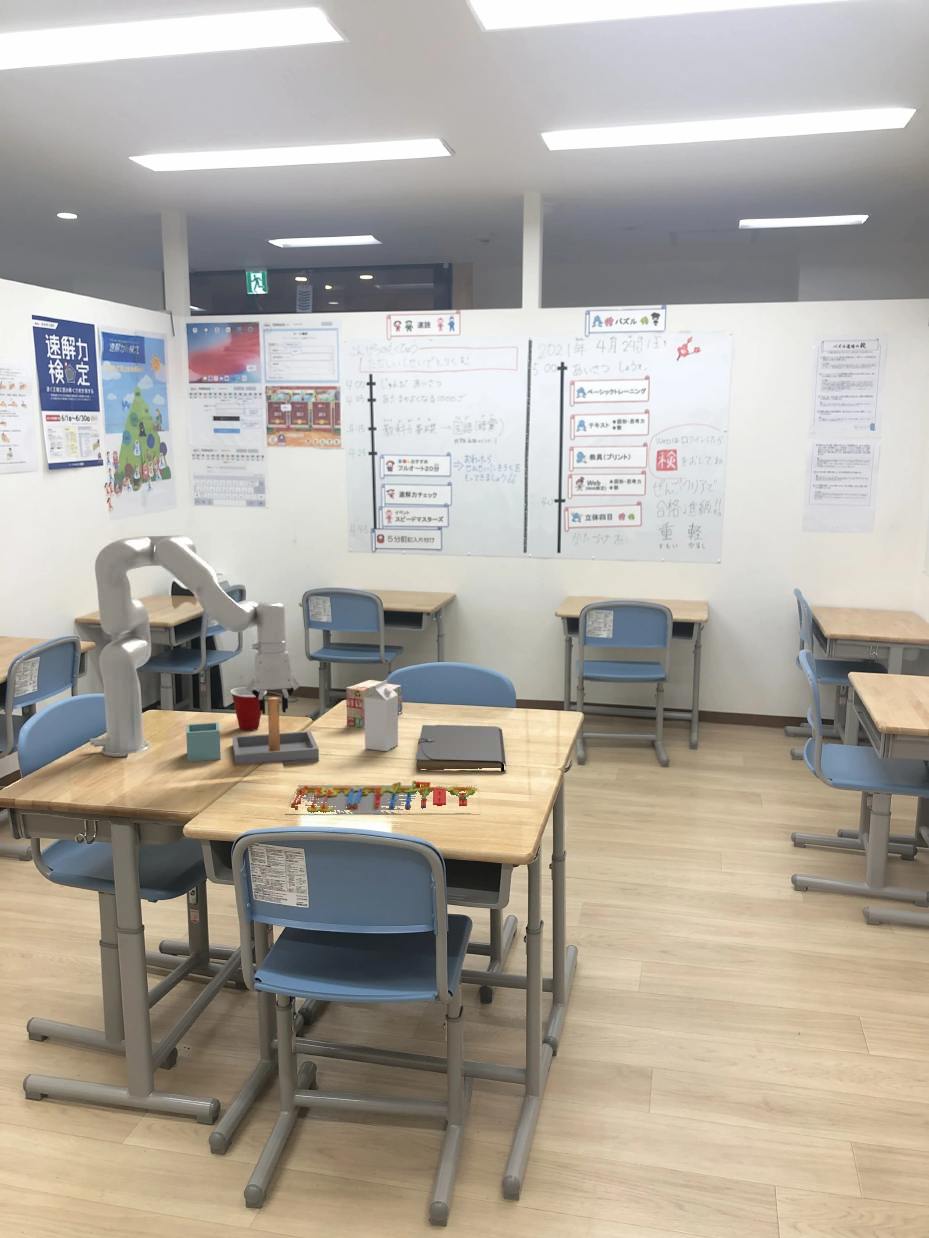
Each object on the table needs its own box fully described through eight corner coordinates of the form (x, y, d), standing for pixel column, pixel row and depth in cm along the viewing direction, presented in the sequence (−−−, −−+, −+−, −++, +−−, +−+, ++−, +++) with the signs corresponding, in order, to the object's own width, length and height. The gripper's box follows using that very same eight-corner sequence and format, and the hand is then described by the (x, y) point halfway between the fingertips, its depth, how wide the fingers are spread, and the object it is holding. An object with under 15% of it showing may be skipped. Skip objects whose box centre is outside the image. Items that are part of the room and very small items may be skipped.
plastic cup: (263, 733, 277) (262, 694, 275) (227, 733, 277) (226, 694, 275) (271, 723, 288) (270, 686, 286) (237, 723, 288) (235, 685, 286)
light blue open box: (187, 765, 247) (186, 733, 245) (187, 755, 255) (186, 724, 253) (220, 762, 249) (219, 730, 248) (219, 753, 257) (218, 722, 256)
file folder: (421, 723, 275) (502, 725, 275) (421, 737, 276) (502, 738, 276) (414, 757, 242) (506, 759, 242) (414, 772, 243) (505, 774, 243)
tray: (235, 768, 245) (235, 755, 244) (232, 748, 262) (232, 736, 261) (318, 761, 251) (318, 748, 250) (310, 742, 268) (310, 730, 267)
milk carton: (364, 749, 262) (363, 684, 259) (376, 742, 268) (375, 678, 265) (387, 752, 259) (386, 686, 256) (398, 745, 266) (397, 680, 263)
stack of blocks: (387, 710, 304) (386, 674, 302) (402, 713, 301) (402, 676, 299) (346, 725, 286) (345, 686, 284) (362, 728, 283) (362, 689, 281)
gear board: (477, 778, 232) (480, 806, 212) (477, 787, 232) (480, 816, 213) (298, 778, 231) (284, 806, 212) (298, 787, 231) (285, 816, 212)
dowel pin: (269, 753, 254) (268, 700, 252) (268, 750, 257) (267, 697, 255) (280, 752, 255) (279, 699, 253) (279, 749, 258) (278, 697, 256)
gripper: (240, 651, 245) (242, 717, 248) (304, 648, 250) (306, 713, 253) (239, 646, 253) (241, 710, 255) (301, 643, 257) (303, 706, 260)
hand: (273, 711), depth 254 cm, fingers open, 4 cm apart
